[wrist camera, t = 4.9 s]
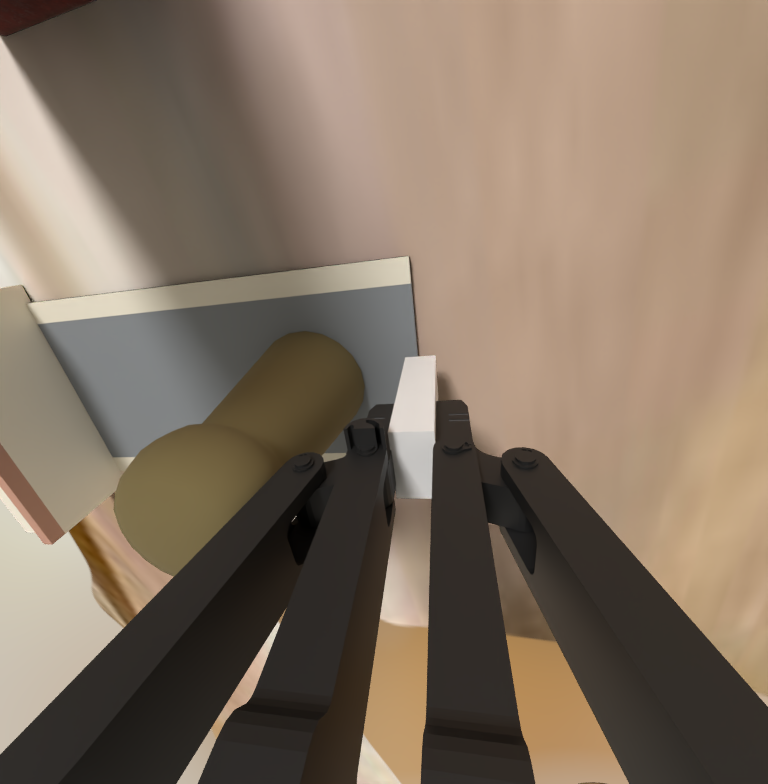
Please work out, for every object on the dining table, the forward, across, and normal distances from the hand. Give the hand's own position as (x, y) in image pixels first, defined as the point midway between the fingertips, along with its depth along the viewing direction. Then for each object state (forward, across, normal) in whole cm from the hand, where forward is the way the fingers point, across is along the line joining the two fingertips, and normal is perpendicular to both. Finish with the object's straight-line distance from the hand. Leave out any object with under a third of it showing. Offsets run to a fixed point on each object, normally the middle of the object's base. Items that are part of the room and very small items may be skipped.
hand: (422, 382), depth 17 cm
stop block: (+2, +24, 0) cm, 24 cm away
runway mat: (+2, +11, 0) cm, 11 cm away
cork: (+2, +6, 0) cm, 6 cm away
